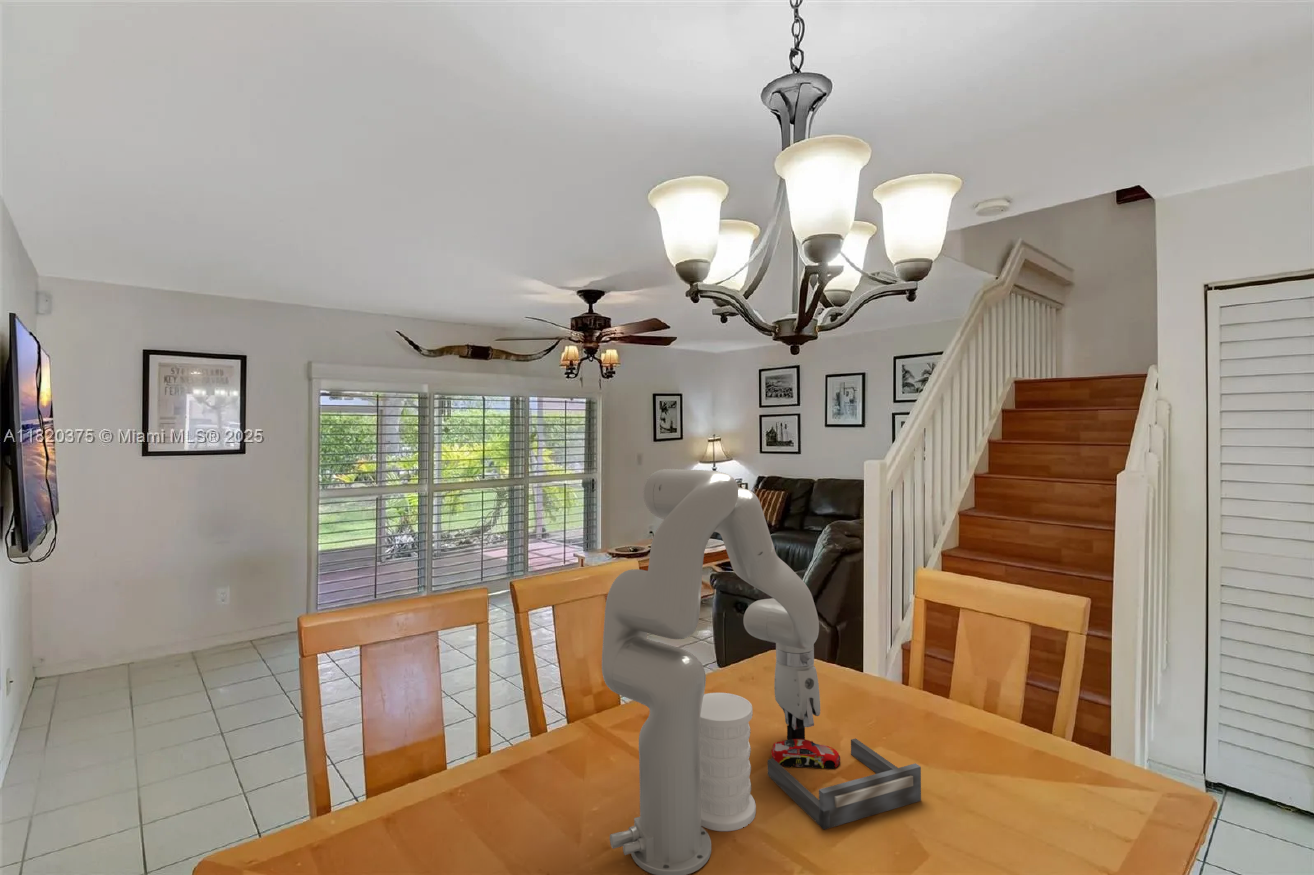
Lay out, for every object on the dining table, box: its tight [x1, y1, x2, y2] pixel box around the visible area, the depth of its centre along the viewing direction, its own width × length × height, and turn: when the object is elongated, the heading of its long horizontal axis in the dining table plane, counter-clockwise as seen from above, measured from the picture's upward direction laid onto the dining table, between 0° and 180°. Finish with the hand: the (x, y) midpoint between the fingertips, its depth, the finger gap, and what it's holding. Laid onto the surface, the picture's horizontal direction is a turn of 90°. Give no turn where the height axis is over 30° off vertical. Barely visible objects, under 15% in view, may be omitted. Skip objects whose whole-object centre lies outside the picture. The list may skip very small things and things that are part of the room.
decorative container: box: [700, 692, 757, 832], centre depth 107 cm, size 12×12×18 cm
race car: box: [770, 738, 841, 770], centre depth 122 cm, size 13×5×4 cm, turn 83°
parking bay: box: [767, 738, 922, 830], centre depth 113 cm, size 20×18×6 cm
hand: (796, 744), depth 127 cm, fingers closed
